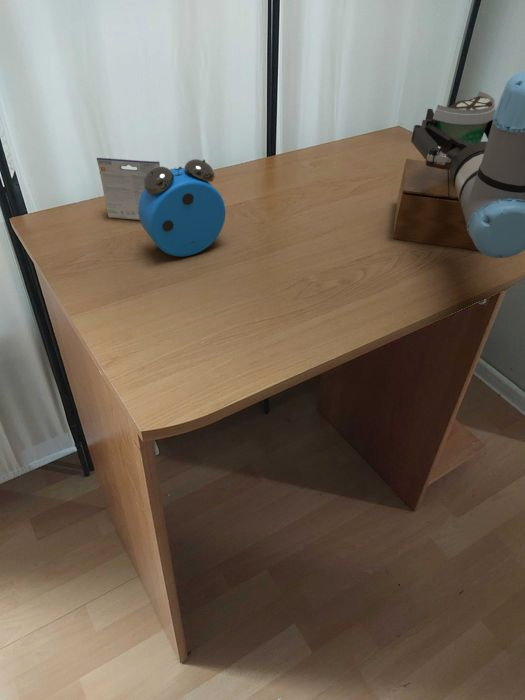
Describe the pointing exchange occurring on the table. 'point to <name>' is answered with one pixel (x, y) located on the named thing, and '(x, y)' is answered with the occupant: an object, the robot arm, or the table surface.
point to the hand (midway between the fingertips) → (457, 118)
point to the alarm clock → (182, 208)
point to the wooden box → (429, 209)
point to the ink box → (123, 185)
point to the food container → (465, 119)
